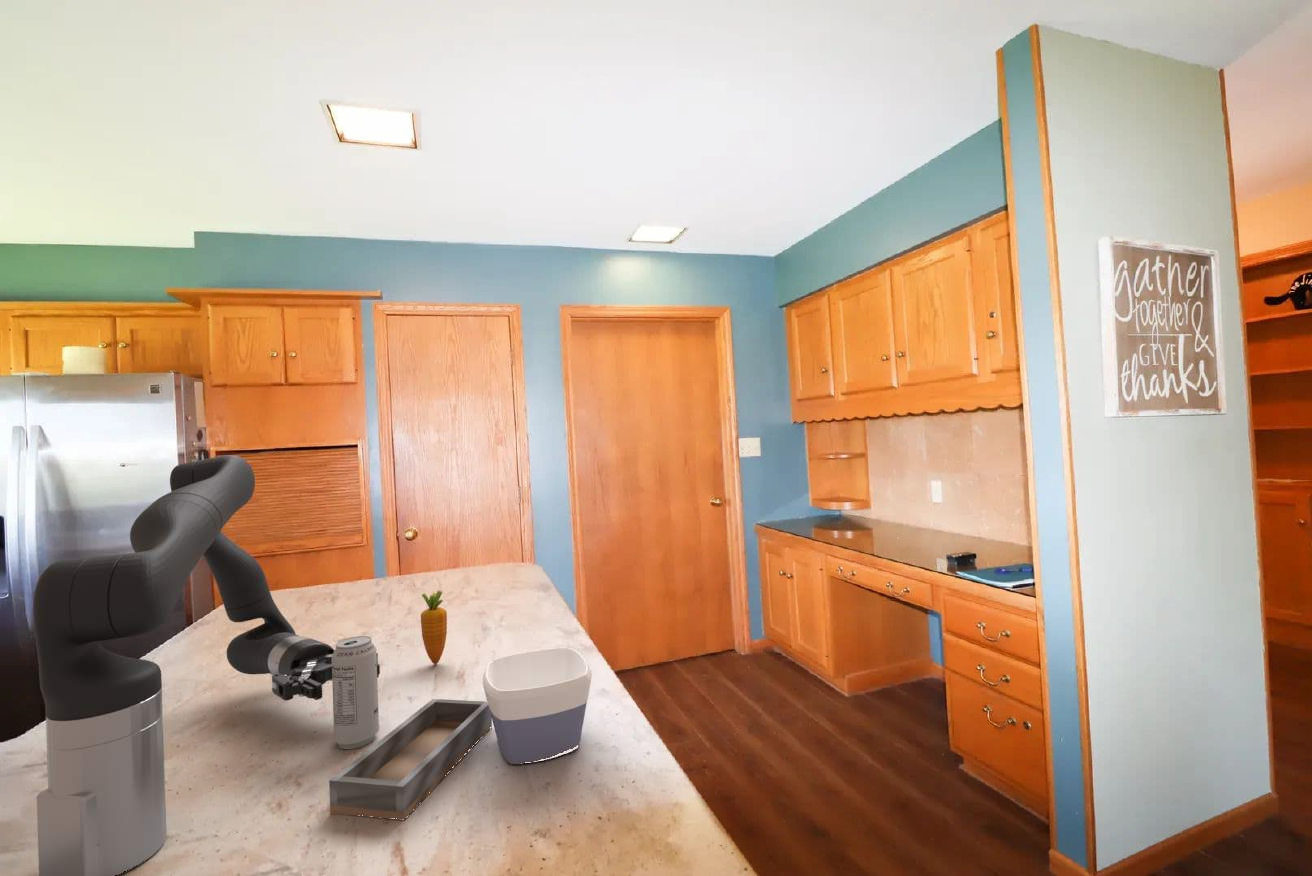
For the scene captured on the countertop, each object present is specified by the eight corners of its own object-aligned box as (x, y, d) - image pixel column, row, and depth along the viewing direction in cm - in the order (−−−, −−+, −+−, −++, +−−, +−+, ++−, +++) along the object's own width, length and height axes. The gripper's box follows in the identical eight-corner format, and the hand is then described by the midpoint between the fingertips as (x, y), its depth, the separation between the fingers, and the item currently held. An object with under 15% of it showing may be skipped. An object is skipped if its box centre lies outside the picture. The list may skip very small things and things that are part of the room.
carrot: (416, 667, 115) (414, 592, 115) (436, 658, 119) (434, 586, 119) (434, 670, 113) (431, 594, 113) (453, 661, 117) (451, 588, 117)
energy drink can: (386, 737, 87) (383, 638, 87) (346, 755, 82) (342, 651, 82) (367, 726, 91) (364, 632, 91) (327, 743, 86) (323, 643, 86)
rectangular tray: (404, 820, 67) (403, 786, 67) (330, 813, 69) (329, 780, 69) (491, 727, 89) (491, 701, 89) (433, 723, 91) (432, 698, 91)
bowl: (481, 730, 88) (479, 658, 88) (579, 709, 94) (576, 642, 94) (489, 784, 74) (486, 698, 74) (604, 756, 79) (601, 676, 80)
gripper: (252, 653, 91) (297, 673, 82) (344, 627, 103) (393, 642, 93) (254, 700, 91) (299, 726, 82) (345, 669, 103) (394, 688, 93)
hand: (349, 681), depth 88 cm, fingers open, 8 cm apart
